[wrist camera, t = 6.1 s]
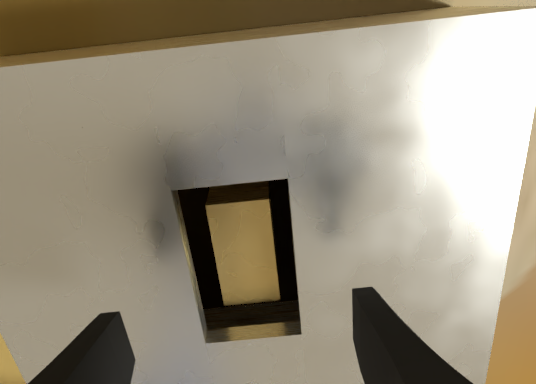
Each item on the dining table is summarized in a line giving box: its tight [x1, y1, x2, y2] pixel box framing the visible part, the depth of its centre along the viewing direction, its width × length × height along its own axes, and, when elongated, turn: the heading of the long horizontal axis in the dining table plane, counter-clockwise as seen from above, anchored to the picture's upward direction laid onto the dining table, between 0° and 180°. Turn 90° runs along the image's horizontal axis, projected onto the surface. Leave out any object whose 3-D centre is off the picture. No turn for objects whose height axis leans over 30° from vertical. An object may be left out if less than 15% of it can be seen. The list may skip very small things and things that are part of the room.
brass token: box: [205, 181, 280, 306], centre depth 19 cm, size 5×2×5 cm, turn 6°
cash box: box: [0, 6, 536, 384], centre depth 18 cm, size 16×20×6 cm
